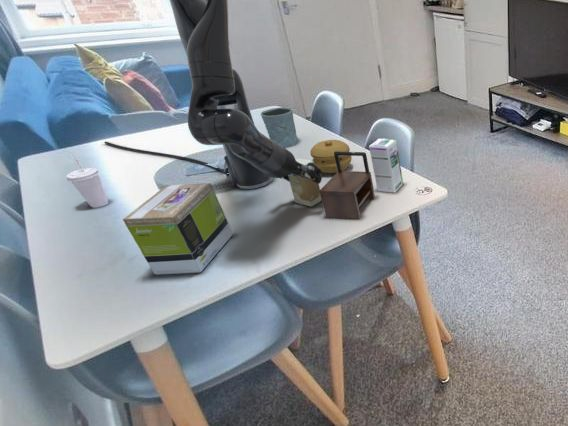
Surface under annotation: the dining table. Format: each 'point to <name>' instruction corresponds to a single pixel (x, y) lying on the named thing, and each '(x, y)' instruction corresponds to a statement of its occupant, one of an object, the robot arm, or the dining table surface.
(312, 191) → the cosmetic box
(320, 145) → the pot
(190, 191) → the tea box
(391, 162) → the syrup box
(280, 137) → the blue-grey planter
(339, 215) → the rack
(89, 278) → the dining table surface
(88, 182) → the smoothie
